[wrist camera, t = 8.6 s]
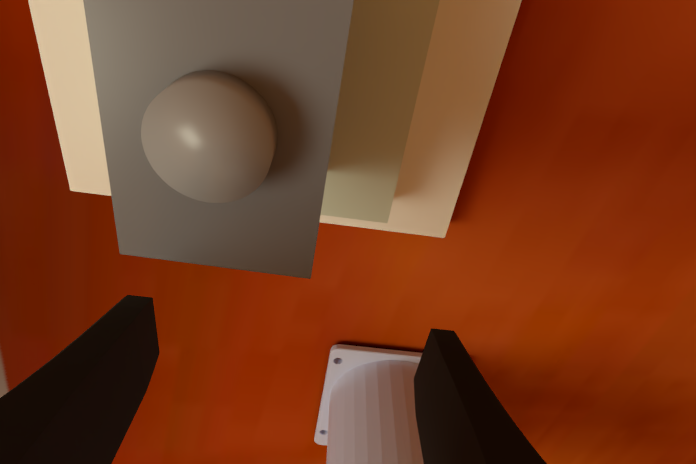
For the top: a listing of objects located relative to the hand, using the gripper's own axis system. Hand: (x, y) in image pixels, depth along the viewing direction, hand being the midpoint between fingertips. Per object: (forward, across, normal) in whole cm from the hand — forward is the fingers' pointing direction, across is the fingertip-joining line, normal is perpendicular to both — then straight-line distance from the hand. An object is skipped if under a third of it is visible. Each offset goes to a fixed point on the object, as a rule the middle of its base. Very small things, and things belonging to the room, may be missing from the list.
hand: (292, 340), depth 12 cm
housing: (+6, +2, -5) cm, 9 cm away
